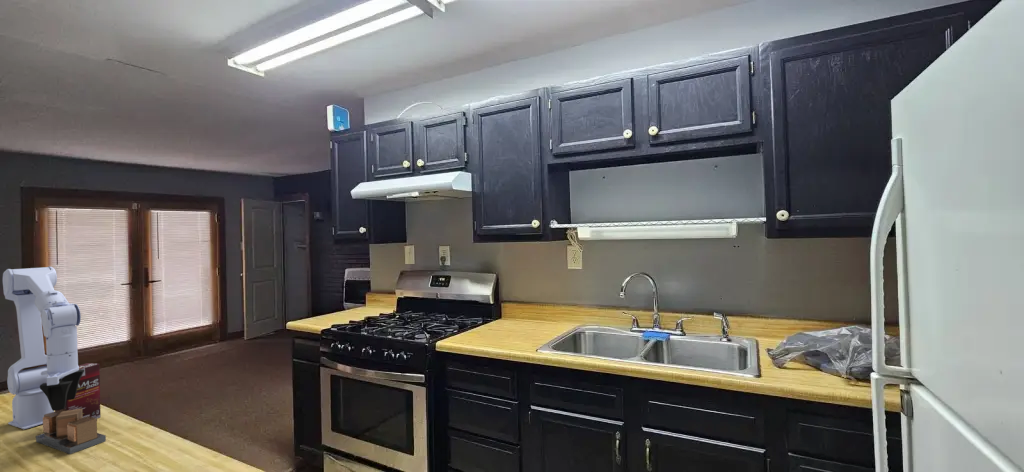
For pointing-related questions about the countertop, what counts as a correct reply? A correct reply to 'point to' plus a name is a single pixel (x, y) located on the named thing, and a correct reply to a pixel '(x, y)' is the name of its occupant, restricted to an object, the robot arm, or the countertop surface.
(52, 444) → the rail
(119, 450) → the countertop surface
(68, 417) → the brown wooden block
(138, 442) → the countertop surface
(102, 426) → the countertop surface
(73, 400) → the supplement box
